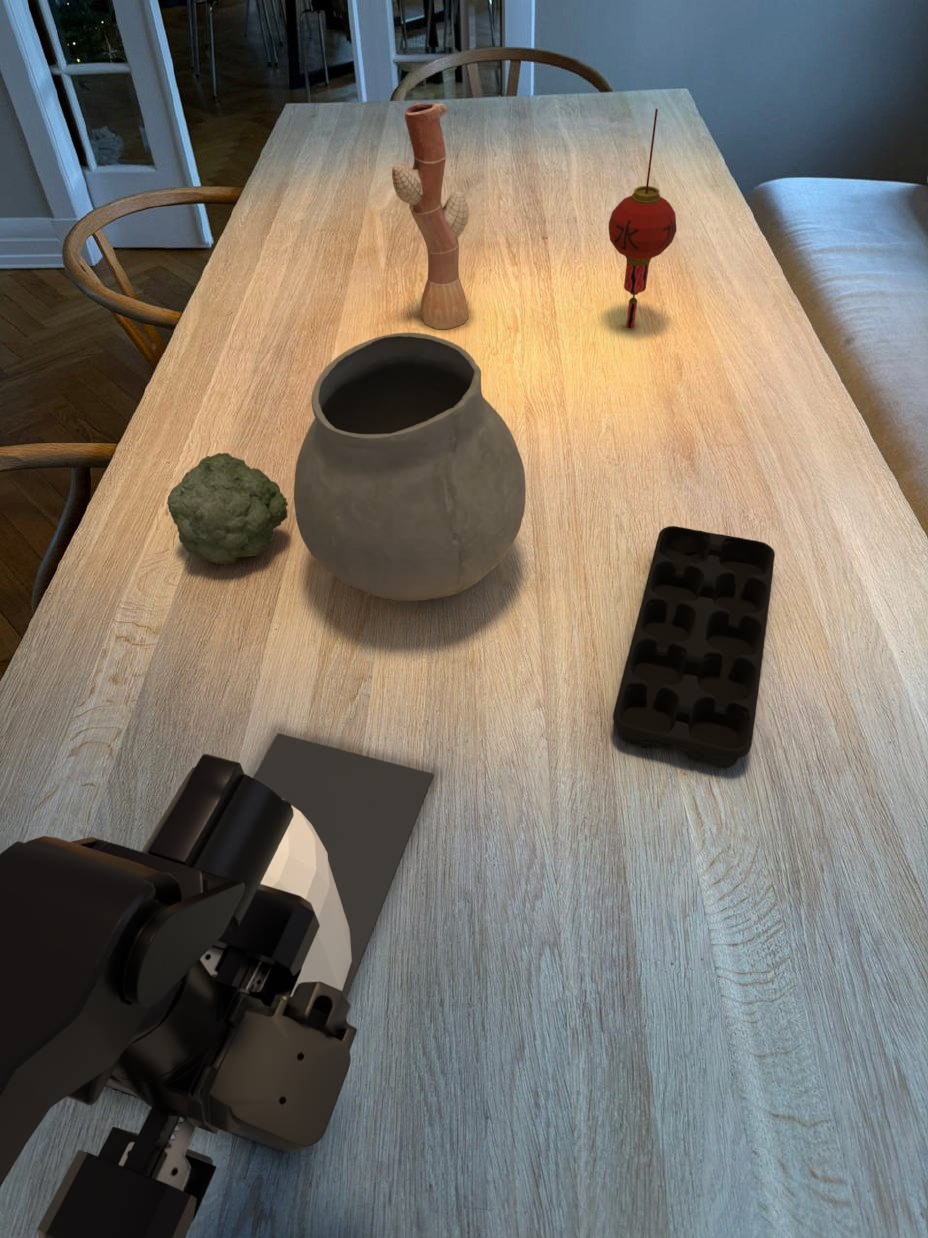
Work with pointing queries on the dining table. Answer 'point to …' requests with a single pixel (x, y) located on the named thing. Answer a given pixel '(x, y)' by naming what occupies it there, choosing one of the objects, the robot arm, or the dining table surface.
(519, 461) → the ceramic pot
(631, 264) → the lantern
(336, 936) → the container
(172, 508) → the vegetable
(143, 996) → the robot arm
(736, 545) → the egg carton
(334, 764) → the plate
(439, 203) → the vase
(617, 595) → the dining table surface
